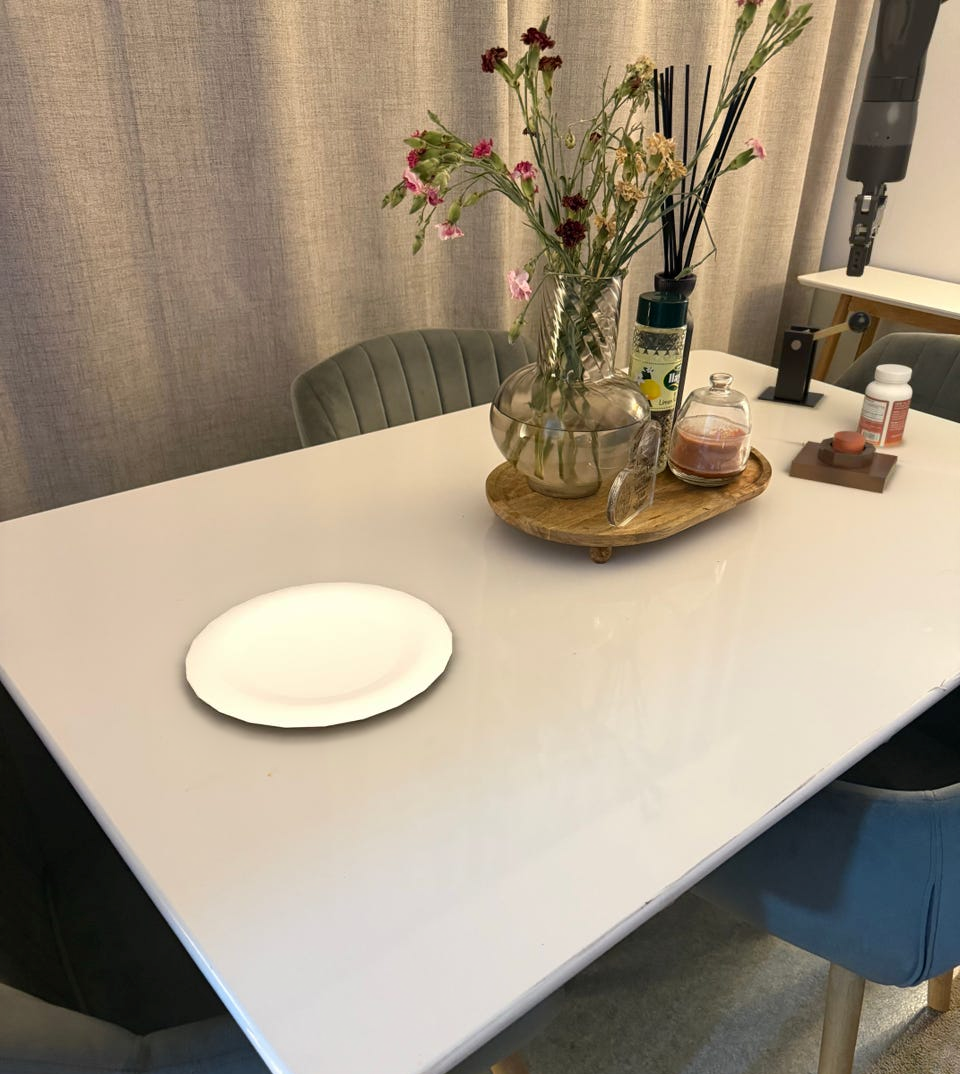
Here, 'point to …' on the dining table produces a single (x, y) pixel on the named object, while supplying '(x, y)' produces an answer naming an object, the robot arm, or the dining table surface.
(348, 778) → the dining table surface
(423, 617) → the plate
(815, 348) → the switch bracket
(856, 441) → the button
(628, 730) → the dining table surface
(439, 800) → the dining table surface
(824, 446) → the switch box
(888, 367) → the pill bottle
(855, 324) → the switch lever
